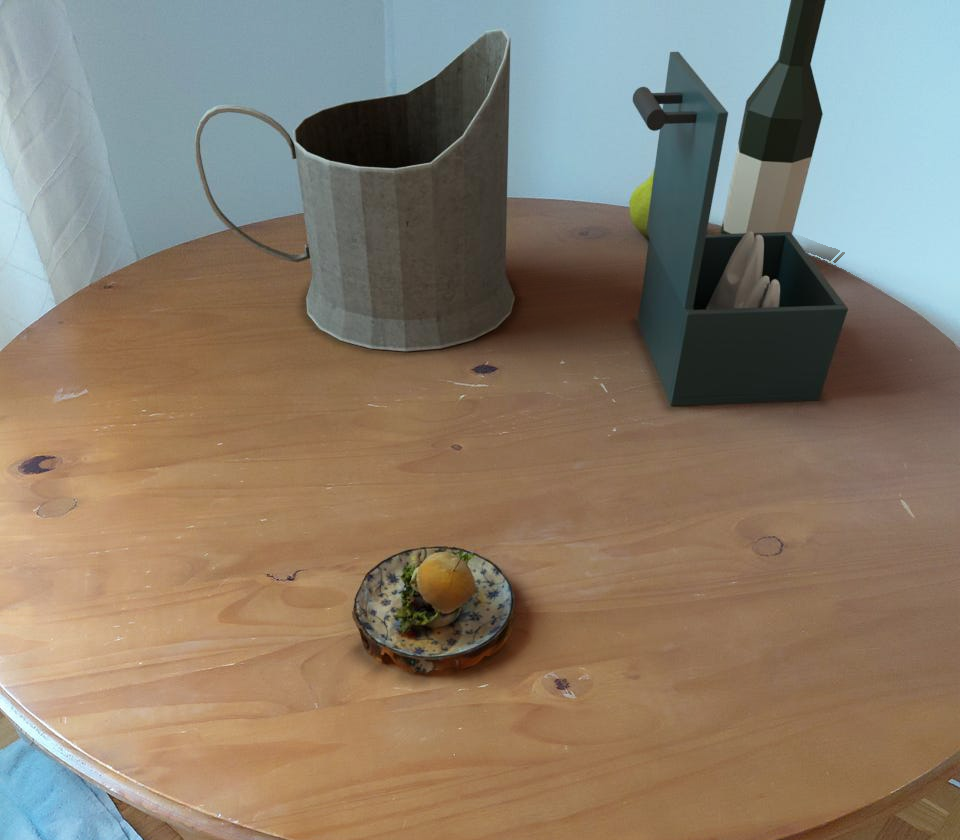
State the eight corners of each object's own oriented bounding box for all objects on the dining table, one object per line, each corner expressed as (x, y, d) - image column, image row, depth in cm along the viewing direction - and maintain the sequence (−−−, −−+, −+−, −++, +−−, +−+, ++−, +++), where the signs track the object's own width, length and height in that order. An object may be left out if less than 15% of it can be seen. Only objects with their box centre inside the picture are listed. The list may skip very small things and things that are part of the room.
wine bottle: (771, 284, 103) (850, -37, 81) (703, 267, 106) (762, -47, 84) (793, 257, 108) (874, -52, 86) (728, 242, 111) (790, -61, 89)
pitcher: (532, 341, 94) (545, 68, 75) (226, 366, 90) (162, 86, 72) (494, 248, 109) (497, 3, 91) (232, 266, 106) (180, 15, 87)
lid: (678, 51, 78) (623, 52, 78) (728, 112, 67) (664, 114, 67) (653, 230, 89) (605, 232, 89) (692, 309, 78) (637, 311, 78)
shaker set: (701, 323, 95) (722, 216, 87) (740, 322, 95) (764, 215, 87) (728, 383, 87) (754, 271, 78) (771, 382, 87) (801, 270, 79)
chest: (768, 318, 97) (790, 231, 90) (819, 400, 86) (848, 308, 79) (637, 322, 96) (649, 235, 90) (670, 406, 85) (687, 314, 78)
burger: (467, 544, 71) (466, 467, 66) (545, 638, 64) (552, 560, 59) (329, 595, 67) (315, 517, 62) (396, 700, 60) (388, 623, 55)
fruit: (640, 252, 109) (654, 145, 100) (616, 230, 113) (628, 125, 104) (690, 244, 110) (709, 138, 101) (665, 222, 115) (680, 119, 106)
